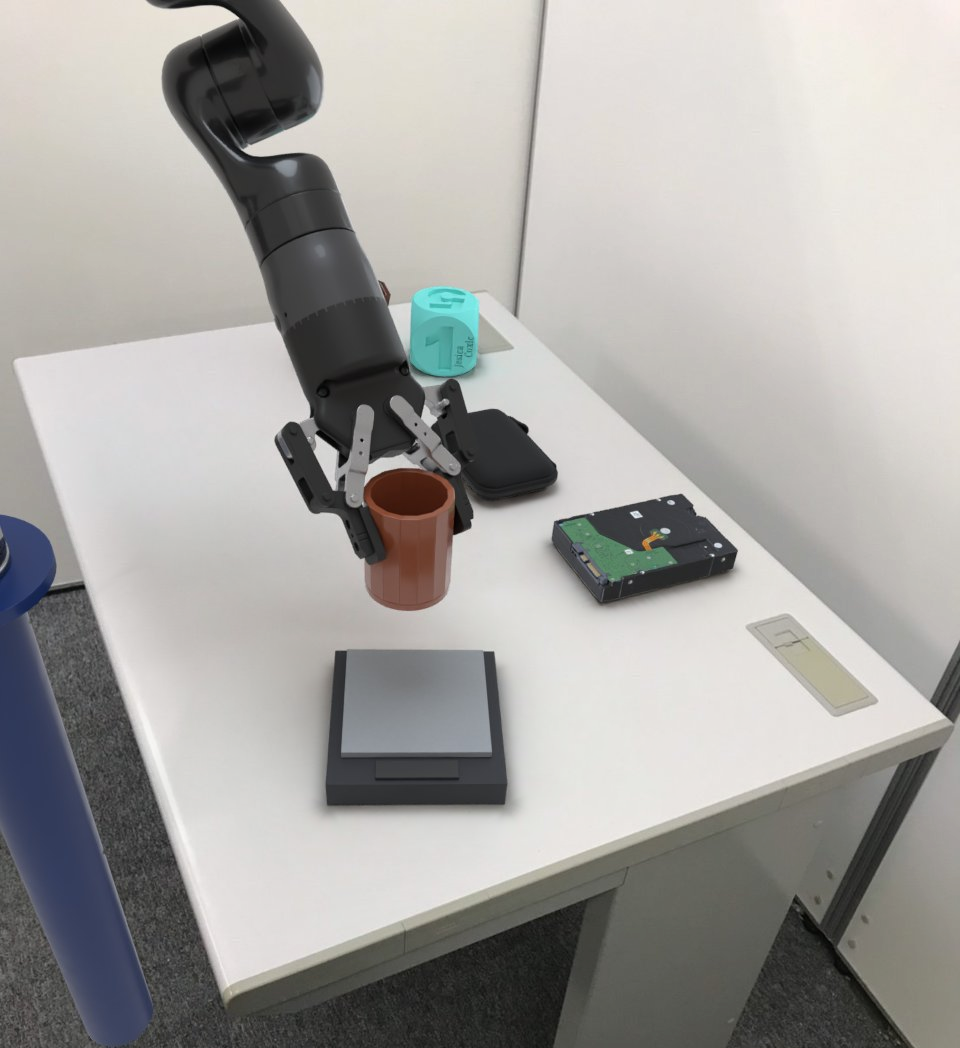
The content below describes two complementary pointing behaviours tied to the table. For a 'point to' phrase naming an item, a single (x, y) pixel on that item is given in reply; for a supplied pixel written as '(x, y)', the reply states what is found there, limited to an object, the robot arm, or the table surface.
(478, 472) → the carrying case
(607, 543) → the disk drive
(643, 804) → the table surface
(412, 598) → the cup
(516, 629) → the table surface
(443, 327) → the decorative dice
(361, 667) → the scale
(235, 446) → the table surface
